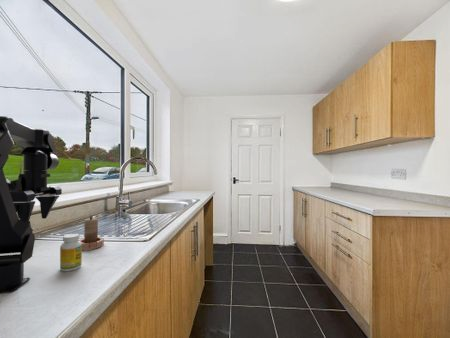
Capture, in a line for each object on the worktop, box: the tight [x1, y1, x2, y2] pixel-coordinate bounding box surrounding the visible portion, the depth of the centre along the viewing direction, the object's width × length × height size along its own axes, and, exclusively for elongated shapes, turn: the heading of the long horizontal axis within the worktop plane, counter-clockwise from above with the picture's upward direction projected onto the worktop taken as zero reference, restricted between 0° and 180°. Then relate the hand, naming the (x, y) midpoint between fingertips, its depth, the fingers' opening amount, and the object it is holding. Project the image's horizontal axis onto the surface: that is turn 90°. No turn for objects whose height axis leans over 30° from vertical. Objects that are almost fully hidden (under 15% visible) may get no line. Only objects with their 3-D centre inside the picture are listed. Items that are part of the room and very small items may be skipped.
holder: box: [78, 236, 105, 251], centre depth 90 cm, size 9×9×2 cm
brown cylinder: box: [83, 213, 99, 243], centre depth 90 cm, size 4×4×12 cm
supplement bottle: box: [59, 233, 83, 272], centre depth 70 cm, size 5×5×10 cm
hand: (35, 221), depth 73 cm, fingers open, 9 cm apart
